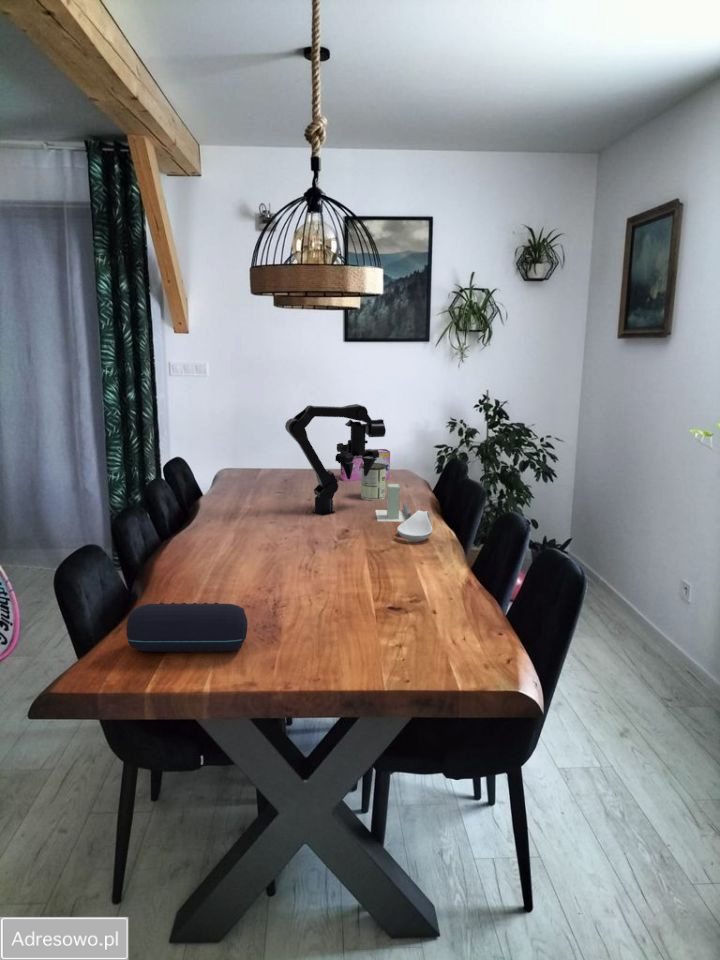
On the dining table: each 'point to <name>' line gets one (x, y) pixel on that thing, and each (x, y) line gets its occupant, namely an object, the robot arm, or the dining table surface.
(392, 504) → the green carton
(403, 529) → the spoon rest
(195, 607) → the portable speaker
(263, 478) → the dining table surface
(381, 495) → the coffee can
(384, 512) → the white plate with rail
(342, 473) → the pink printed box
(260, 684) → the dining table surface
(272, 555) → the dining table surface
